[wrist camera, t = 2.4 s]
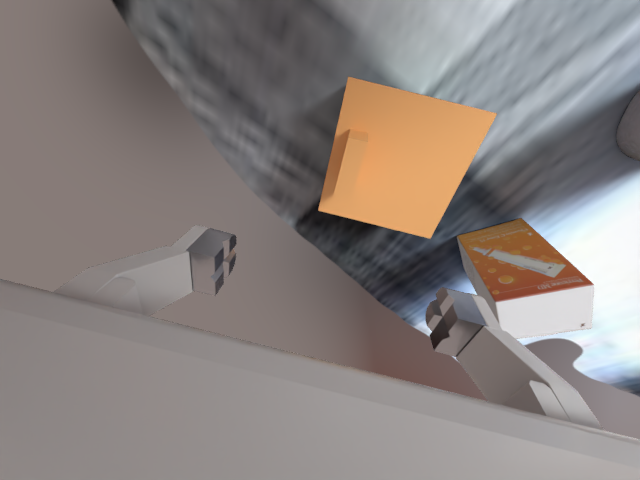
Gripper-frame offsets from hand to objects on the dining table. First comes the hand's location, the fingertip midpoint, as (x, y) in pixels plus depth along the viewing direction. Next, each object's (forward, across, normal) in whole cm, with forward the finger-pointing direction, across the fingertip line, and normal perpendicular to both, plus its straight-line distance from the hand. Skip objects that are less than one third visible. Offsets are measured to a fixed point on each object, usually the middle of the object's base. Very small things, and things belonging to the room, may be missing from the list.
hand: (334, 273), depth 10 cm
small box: (+26, -22, +9) cm, 35 cm away
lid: (+19, -4, 0) cm, 20 cm away
